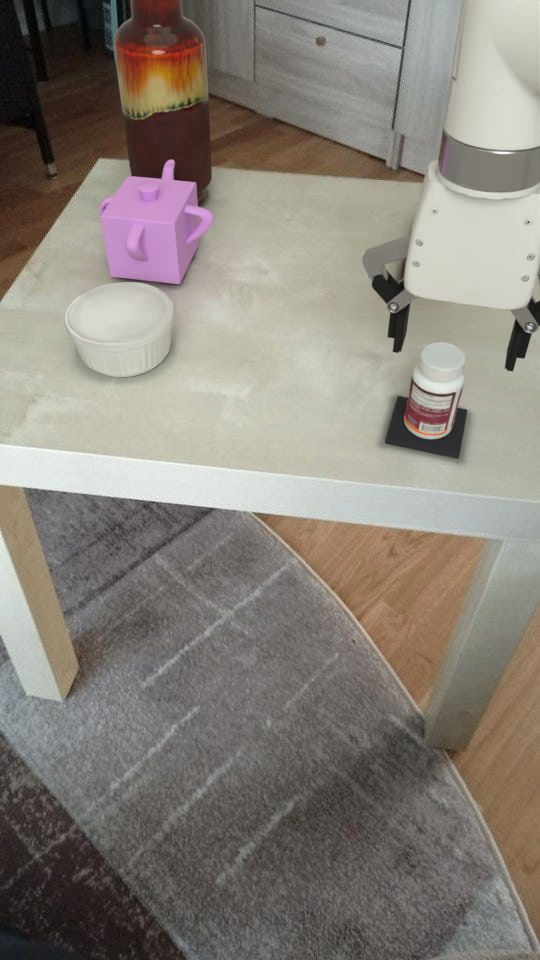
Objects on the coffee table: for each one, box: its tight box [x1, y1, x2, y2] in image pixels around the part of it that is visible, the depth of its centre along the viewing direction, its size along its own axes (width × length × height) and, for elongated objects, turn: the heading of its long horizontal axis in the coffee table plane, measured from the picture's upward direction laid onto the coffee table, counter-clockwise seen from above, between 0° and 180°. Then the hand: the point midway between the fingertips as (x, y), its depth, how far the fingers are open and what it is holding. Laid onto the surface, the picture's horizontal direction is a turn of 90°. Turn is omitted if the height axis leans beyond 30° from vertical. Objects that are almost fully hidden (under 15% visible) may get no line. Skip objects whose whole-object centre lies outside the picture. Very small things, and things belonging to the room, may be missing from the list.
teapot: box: [98, 160, 215, 285], centre depth 88 cm, size 18×14×10 cm
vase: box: [113, 0, 213, 207], centre depth 93 cm, size 11×11×26 cm
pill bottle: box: [404, 341, 467, 439], centre depth 68 cm, size 5×5×8 cm
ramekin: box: [63, 281, 176, 378], centre depth 78 cm, size 11×11×5 cm
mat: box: [384, 395, 468, 459], centre depth 72 cm, size 7×7×1 cm
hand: (453, 352), depth 64 cm, fingers open, 9 cm apart
